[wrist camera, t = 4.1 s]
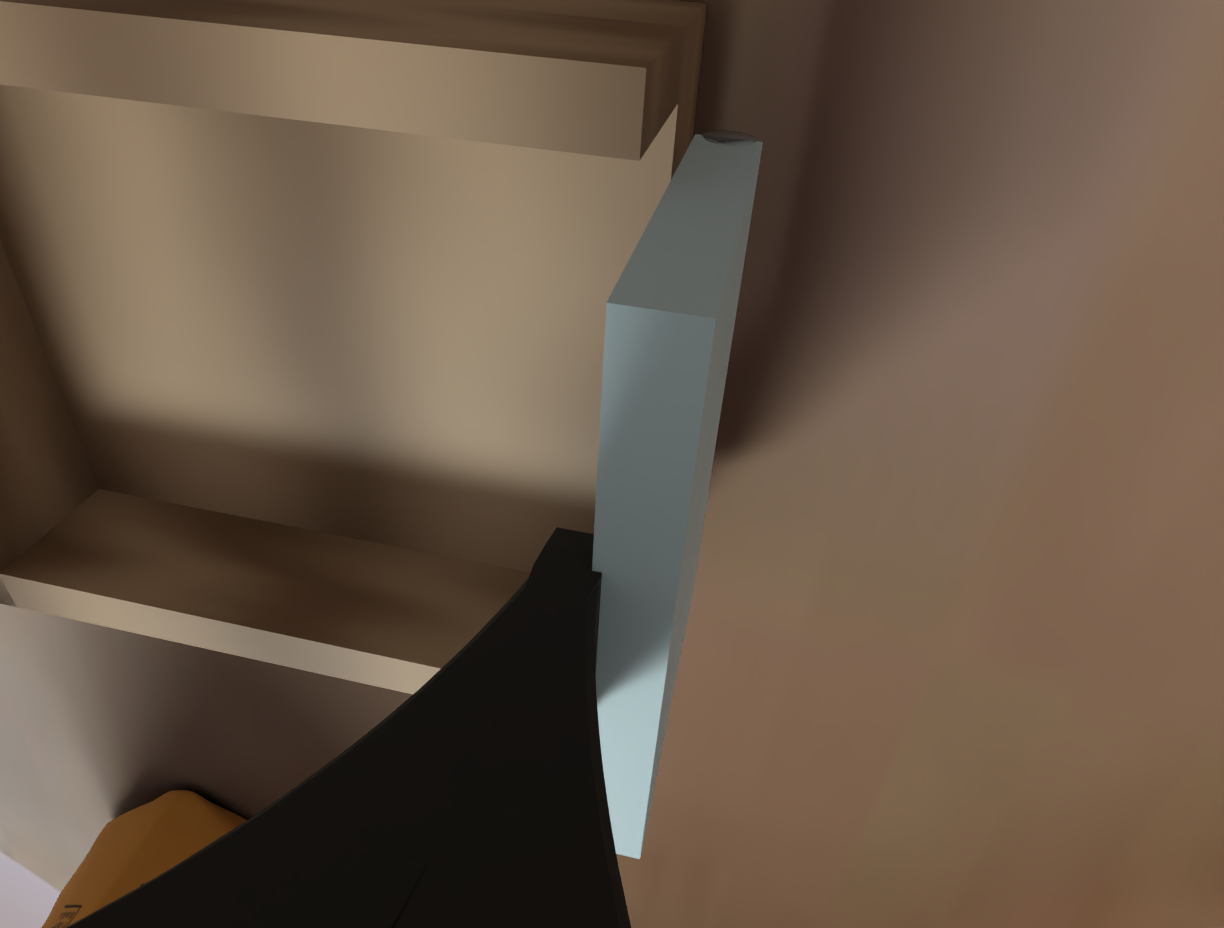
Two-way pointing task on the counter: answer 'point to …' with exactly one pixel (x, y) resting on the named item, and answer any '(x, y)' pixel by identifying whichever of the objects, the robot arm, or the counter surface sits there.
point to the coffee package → (140, 851)
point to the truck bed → (315, 307)
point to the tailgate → (662, 452)
